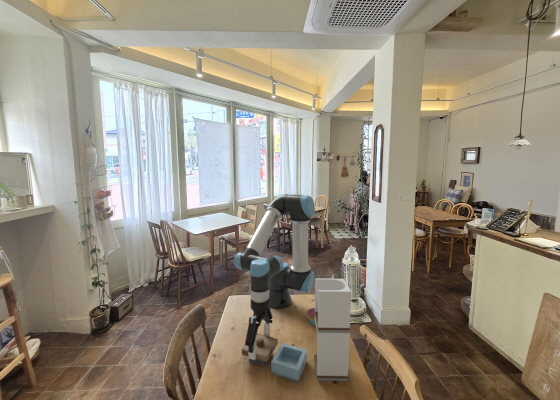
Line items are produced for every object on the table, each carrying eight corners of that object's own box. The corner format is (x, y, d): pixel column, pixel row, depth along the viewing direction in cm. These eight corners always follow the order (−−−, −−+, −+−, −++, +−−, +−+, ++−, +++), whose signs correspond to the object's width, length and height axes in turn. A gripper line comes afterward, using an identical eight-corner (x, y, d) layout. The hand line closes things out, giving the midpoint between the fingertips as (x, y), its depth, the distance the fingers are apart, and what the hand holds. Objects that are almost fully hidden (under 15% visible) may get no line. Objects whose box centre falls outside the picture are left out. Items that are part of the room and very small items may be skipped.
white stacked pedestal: (341, 359, 102) (344, 278, 98) (347, 381, 91) (351, 291, 87) (313, 358, 102) (315, 278, 98) (317, 380, 92) (318, 291, 88)
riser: (256, 350, 107) (256, 341, 107) (271, 354, 104) (271, 345, 104) (248, 361, 101) (248, 352, 100) (264, 366, 98) (264, 357, 98)
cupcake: (309, 316, 132) (309, 295, 131) (324, 320, 128) (325, 298, 127) (303, 325, 124) (304, 302, 123) (320, 330, 121) (320, 307, 119)
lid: (254, 337, 109) (254, 329, 109) (277, 344, 105) (277, 335, 105) (241, 354, 99) (241, 345, 99) (266, 362, 95) (266, 353, 95)
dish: (281, 353, 105) (281, 343, 104) (306, 361, 101) (307, 350, 100) (271, 373, 95) (271, 361, 94) (298, 382, 91) (298, 370, 90)
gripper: (264, 284, 112) (264, 327, 115) (235, 312, 89) (235, 366, 92) (280, 287, 110) (279, 331, 112) (253, 316, 87) (253, 372, 89)
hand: (259, 347), depth 102 cm, fingers open, 13 cm apart
